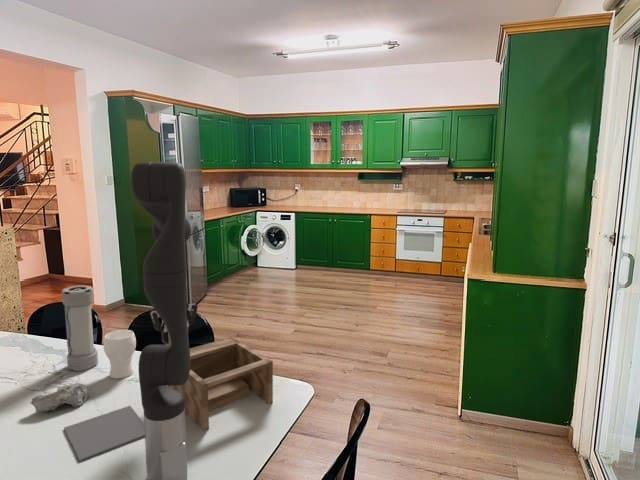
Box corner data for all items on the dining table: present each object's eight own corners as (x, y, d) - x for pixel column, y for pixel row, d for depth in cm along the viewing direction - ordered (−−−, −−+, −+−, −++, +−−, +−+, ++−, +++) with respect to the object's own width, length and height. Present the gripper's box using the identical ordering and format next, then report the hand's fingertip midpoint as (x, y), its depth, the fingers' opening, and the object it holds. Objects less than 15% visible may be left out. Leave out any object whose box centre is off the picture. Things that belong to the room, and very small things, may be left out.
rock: (36, 422, 124) (34, 401, 123) (31, 412, 129) (29, 391, 128) (94, 403, 135) (92, 383, 134) (86, 394, 140) (85, 375, 139)
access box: (272, 402, 137) (272, 361, 135) (203, 430, 121) (202, 385, 119) (231, 373, 156) (231, 337, 154) (167, 394, 141) (166, 354, 138)
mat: (151, 434, 119) (151, 432, 119) (79, 461, 108) (79, 459, 108) (130, 407, 133) (130, 405, 133) (64, 429, 121) (64, 427, 121)
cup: (125, 382, 148) (122, 341, 146) (98, 378, 150) (95, 338, 148) (143, 368, 159) (141, 330, 156) (118, 365, 161) (116, 328, 158)
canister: (61, 369, 157) (54, 290, 152) (83, 358, 167) (78, 284, 162) (82, 373, 154) (76, 293, 149) (104, 361, 164) (99, 286, 159)
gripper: (153, 292, 118) (155, 350, 120) (202, 284, 127) (203, 339, 129) (144, 286, 123) (146, 342, 126) (191, 279, 132) (193, 332, 135)
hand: (175, 340), depth 127 cm, fingers closed on block, 5 cm apart
